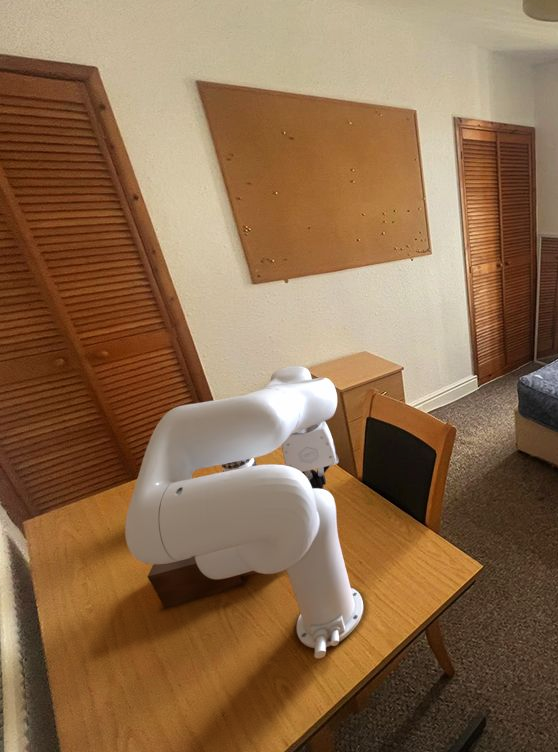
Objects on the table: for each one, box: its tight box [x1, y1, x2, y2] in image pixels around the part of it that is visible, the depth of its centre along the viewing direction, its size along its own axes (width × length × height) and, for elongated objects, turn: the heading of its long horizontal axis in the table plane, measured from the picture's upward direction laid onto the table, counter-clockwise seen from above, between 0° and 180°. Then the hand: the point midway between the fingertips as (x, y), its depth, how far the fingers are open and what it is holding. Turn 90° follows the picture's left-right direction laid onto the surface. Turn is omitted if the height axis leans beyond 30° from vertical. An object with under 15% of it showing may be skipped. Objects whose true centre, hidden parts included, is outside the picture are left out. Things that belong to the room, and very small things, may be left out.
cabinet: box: [147, 557, 246, 609], centre depth 91 cm, size 15×13×10 cm
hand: (319, 487), depth 96 cm, fingers closed
